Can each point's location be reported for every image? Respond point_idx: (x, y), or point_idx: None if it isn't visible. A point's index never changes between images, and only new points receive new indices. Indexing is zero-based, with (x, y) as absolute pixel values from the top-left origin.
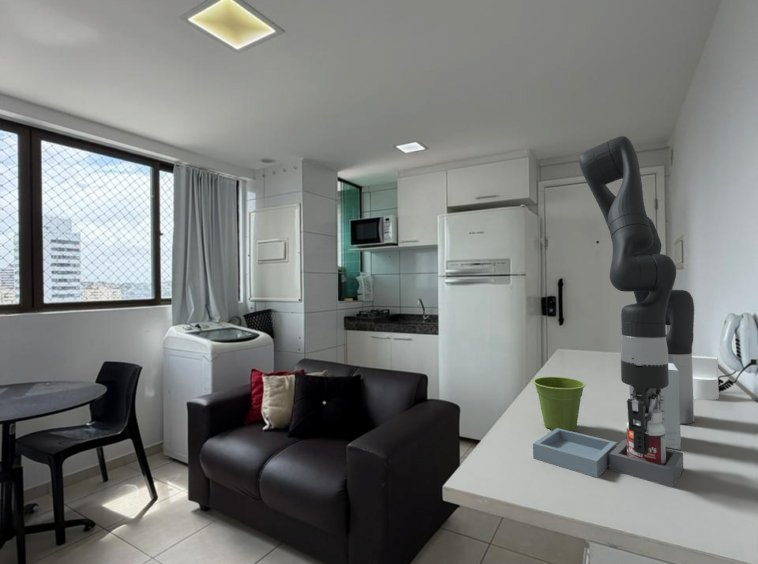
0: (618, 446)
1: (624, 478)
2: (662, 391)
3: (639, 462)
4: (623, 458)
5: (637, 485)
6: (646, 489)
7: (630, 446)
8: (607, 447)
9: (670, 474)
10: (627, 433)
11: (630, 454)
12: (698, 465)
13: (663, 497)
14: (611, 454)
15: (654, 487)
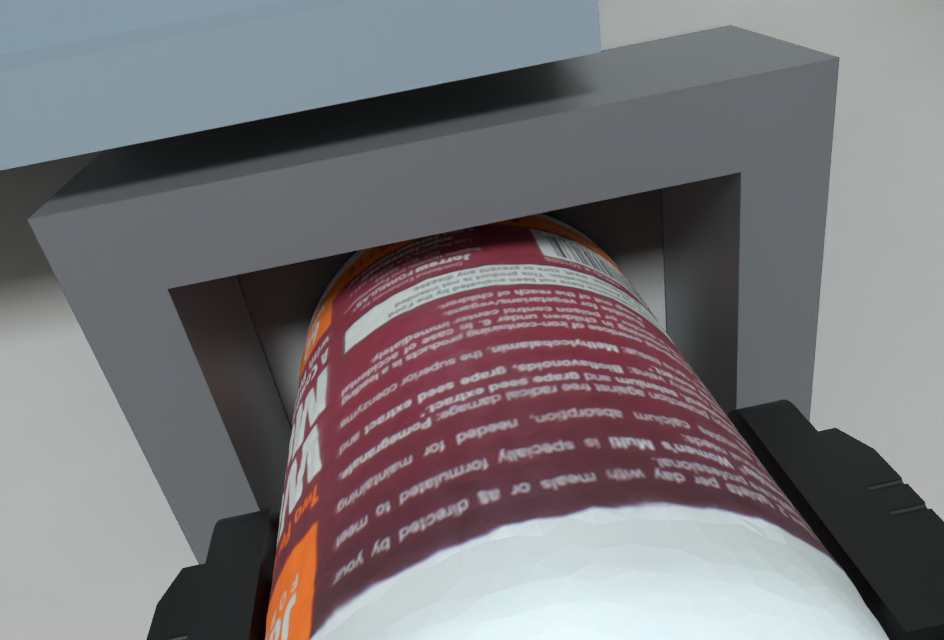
0: (443, 156)
1: (65, 337)
2: None
3: (179, 517)
4: (117, 374)
5: (51, 456)
6: (58, 518)
7: (307, 441)
8: (241, 70)
9: None
10: (354, 511)
11: (313, 371)
12: None
13: (63, 617)
14: (42, 246)
15: (161, 529)
